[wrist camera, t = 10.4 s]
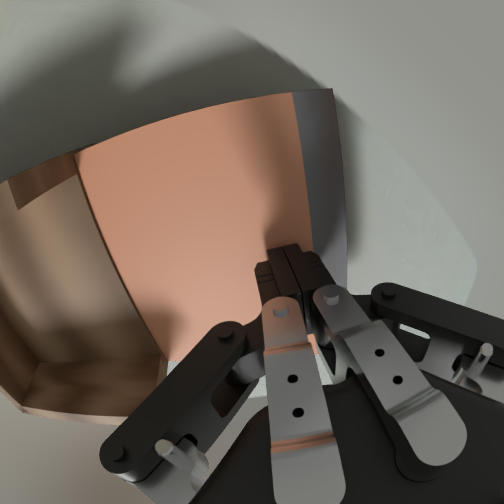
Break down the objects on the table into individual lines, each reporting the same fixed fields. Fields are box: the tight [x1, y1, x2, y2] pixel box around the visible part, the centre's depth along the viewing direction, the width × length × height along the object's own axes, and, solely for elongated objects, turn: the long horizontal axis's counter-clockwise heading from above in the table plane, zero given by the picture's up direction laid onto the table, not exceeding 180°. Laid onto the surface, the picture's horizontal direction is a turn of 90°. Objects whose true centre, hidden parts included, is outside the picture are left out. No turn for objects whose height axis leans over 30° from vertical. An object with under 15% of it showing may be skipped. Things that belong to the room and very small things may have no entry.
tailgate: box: [74, 88, 347, 361], centre depth 14 cm, size 1×15×12 cm
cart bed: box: [0, 144, 168, 425], centre depth 13 cm, size 14×15×8 cm
